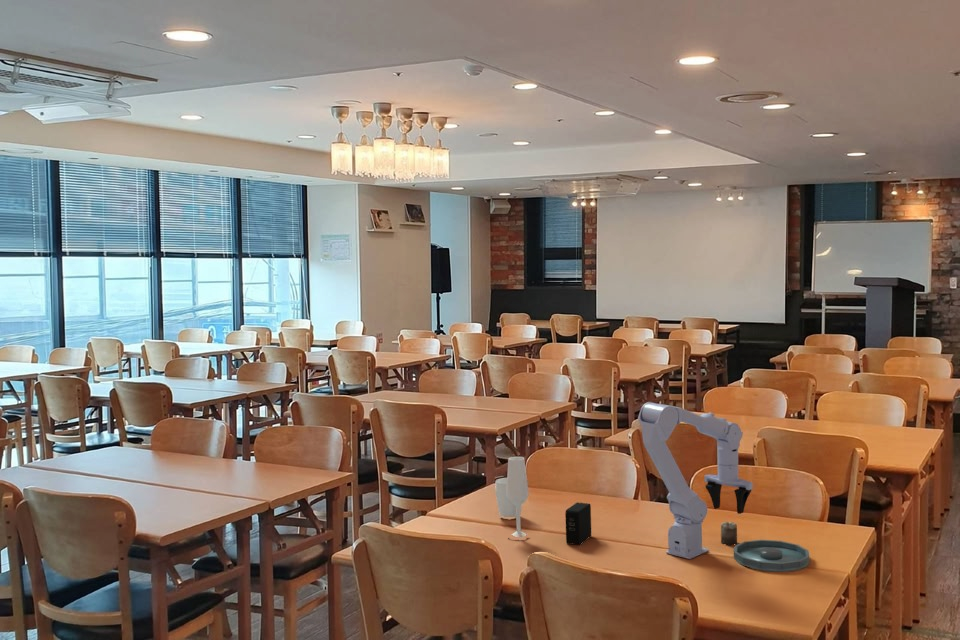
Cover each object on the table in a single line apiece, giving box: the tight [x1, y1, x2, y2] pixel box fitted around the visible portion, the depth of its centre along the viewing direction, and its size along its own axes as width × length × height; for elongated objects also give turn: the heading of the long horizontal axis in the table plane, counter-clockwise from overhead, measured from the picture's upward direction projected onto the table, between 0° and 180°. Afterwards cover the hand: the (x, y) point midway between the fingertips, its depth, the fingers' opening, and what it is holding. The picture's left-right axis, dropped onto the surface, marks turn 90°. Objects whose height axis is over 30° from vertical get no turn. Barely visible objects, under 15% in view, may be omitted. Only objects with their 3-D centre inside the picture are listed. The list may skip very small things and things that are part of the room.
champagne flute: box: [506, 456, 530, 537], centre depth 269 cm, size 7×7×24 cm
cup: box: [494, 477, 523, 517], centre depth 291 cm, size 9×9×12 cm
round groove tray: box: [733, 539, 810, 573], centre depth 243 cm, size 19×19×2 cm
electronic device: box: [564, 502, 592, 546], centre depth 265 cm, size 4×10×10 cm, turn 152°
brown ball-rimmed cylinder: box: [720, 521, 738, 546], centre depth 258 cm, size 4×4×6 cm
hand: (728, 510), depth 258 cm, fingers open, 7 cm apart
